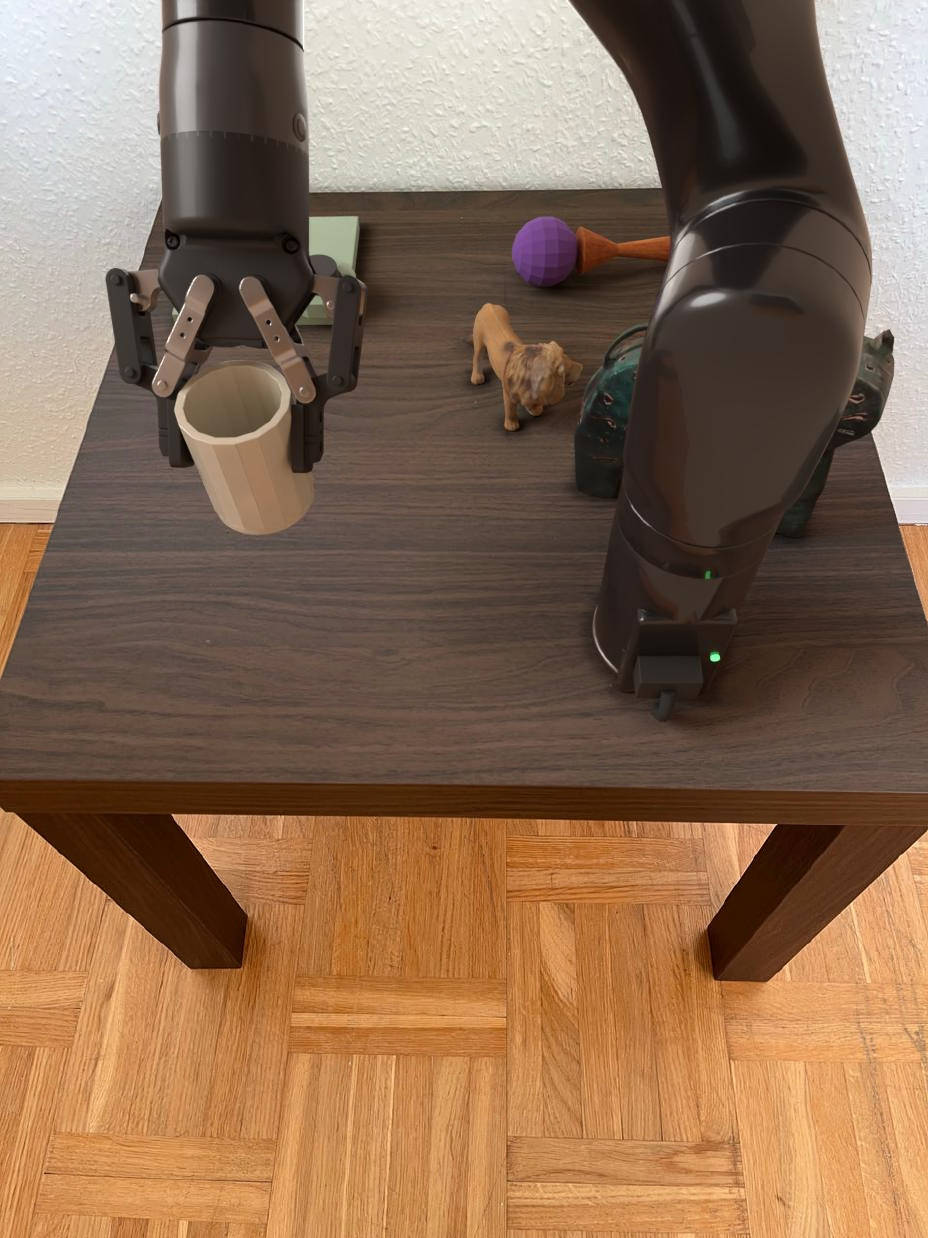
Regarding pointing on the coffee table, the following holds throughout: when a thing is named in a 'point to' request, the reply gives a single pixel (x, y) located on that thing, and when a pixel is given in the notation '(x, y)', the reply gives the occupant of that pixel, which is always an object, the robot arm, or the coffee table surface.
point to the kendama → (572, 251)
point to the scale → (336, 242)
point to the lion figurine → (519, 365)
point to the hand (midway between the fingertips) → (241, 468)
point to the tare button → (324, 265)
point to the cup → (244, 445)
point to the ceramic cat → (612, 401)
